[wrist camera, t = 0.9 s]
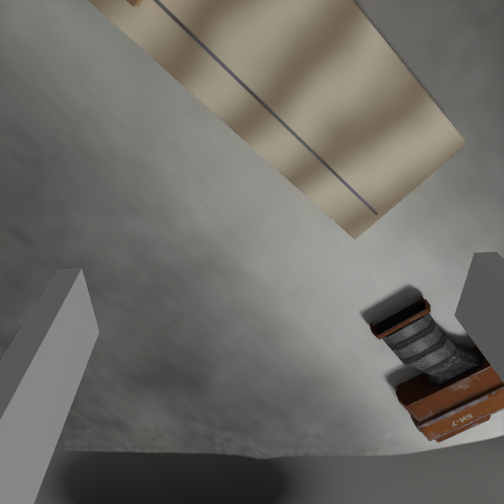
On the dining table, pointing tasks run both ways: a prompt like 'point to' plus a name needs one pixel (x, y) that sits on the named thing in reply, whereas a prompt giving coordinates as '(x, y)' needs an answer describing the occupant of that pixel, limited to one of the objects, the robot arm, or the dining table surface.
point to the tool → (440, 375)
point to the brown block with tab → (134, 2)
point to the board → (303, 94)
